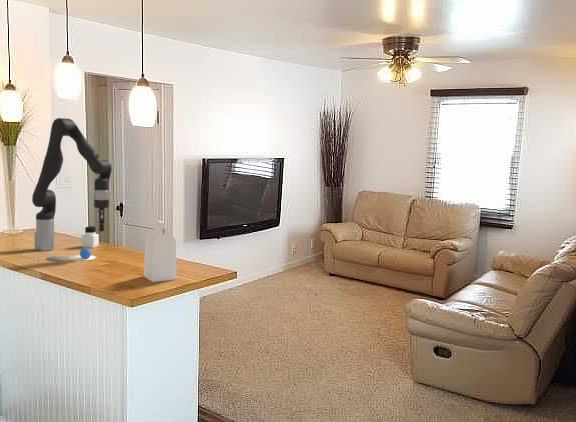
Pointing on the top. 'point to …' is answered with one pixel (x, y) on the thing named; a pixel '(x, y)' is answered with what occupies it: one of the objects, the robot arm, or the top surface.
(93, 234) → the medicine bottle
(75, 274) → the top surface
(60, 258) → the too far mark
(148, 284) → the top surface
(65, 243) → the top surface
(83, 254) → the ball
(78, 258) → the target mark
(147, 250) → the milk
